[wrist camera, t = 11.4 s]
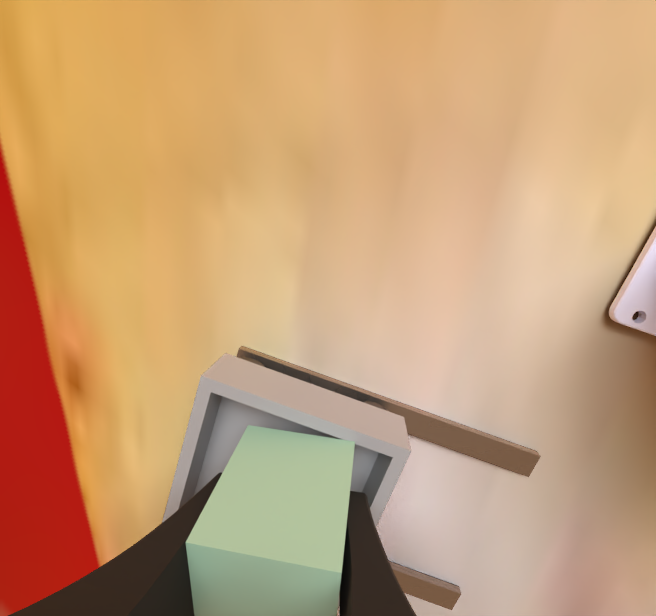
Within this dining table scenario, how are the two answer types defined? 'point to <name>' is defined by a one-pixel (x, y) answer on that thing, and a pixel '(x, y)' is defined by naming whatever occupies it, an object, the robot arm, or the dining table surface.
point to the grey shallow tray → (285, 428)
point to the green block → (273, 528)
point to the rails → (426, 429)
